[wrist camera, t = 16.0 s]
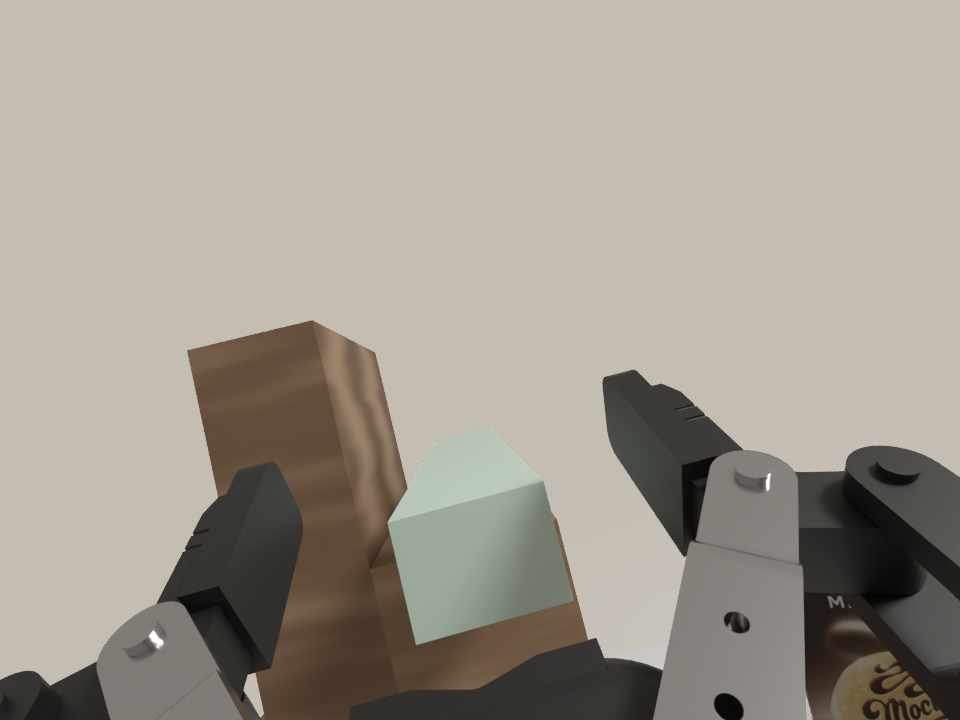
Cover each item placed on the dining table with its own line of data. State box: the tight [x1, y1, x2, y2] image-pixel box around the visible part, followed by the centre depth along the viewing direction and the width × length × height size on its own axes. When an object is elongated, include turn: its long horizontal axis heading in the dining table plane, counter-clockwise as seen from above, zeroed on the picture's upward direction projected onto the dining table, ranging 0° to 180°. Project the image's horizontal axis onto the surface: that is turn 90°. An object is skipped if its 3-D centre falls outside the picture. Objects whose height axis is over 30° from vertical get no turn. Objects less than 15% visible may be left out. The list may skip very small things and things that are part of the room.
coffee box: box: [804, 592, 948, 720], centre depth 26 cm, size 9×6×16 cm
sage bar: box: [387, 428, 574, 645], centre depth 24 cm, size 24×4×3 cm, turn 2°
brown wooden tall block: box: [187, 321, 588, 720], centre depth 26 cm, size 14×12×32 cm
